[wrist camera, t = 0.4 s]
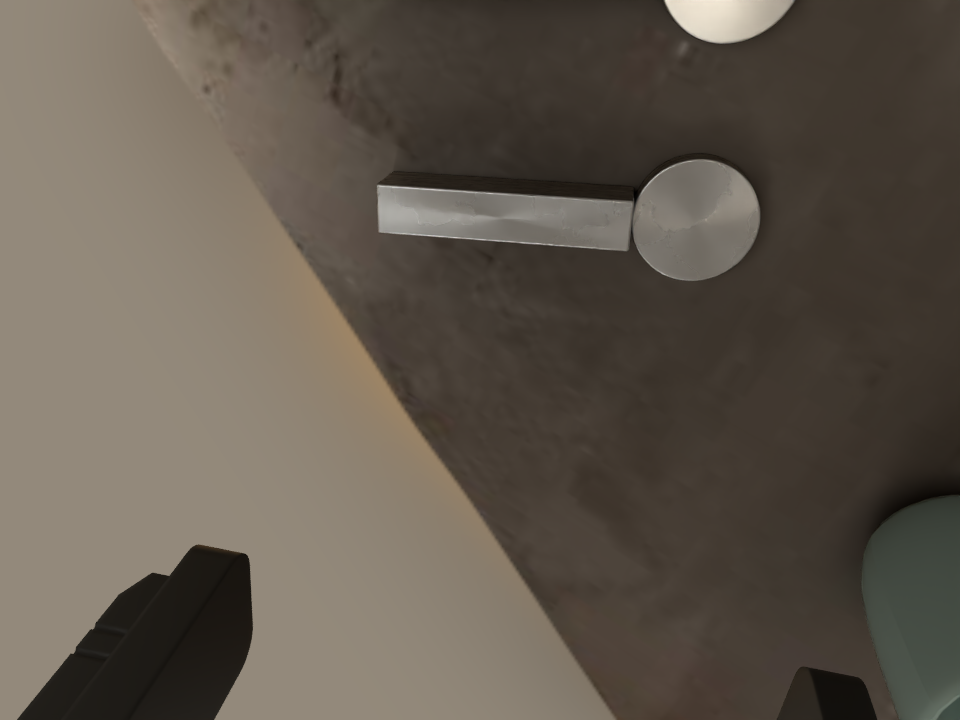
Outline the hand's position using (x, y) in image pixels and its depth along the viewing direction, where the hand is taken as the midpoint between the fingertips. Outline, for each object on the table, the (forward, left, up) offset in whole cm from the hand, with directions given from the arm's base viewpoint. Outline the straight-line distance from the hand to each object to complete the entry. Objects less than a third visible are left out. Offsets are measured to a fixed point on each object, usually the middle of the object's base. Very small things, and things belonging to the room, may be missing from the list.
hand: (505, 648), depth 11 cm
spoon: (-1, 0, -20) cm, 20 cm away
